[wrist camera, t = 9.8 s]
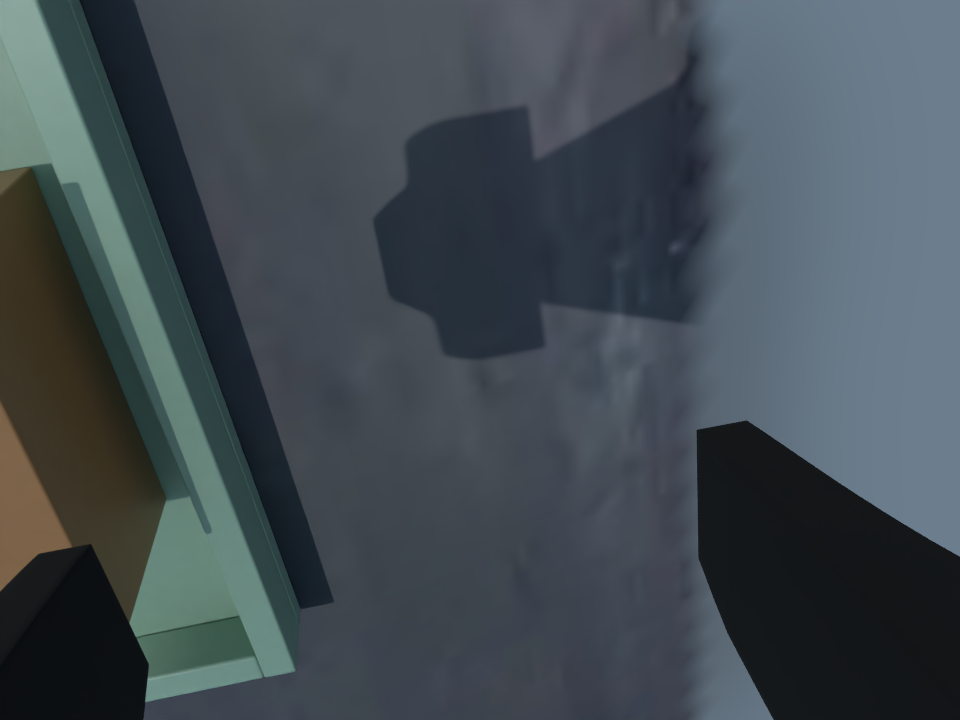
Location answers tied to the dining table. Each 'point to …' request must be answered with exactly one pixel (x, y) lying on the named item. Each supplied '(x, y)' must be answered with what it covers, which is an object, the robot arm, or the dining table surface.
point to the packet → (63, 412)
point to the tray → (149, 364)
